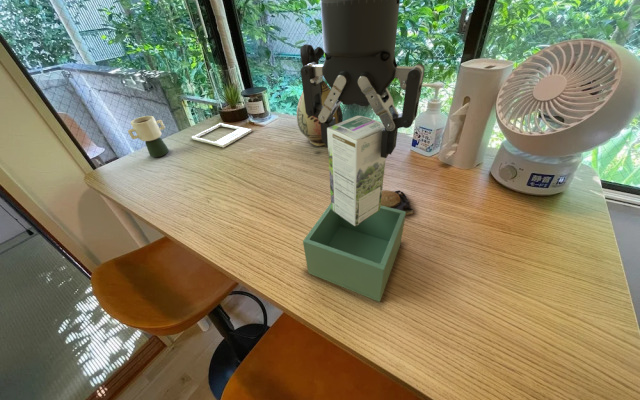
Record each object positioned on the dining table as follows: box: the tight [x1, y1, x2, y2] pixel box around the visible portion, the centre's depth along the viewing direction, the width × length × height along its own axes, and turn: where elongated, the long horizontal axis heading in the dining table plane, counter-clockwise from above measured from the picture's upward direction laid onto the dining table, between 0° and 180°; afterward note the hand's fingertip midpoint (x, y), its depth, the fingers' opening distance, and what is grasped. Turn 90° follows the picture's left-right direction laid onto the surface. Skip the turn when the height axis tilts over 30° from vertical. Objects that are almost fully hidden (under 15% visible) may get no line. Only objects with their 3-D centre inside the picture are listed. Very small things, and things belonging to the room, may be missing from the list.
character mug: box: [127, 115, 170, 158], centre depth 88 cm, size 11×7×13 cm, turn 137°
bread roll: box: [381, 189, 414, 216], centre depth 59 cm, size 11×8×4 cm
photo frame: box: [191, 122, 252, 148], centre depth 100 cm, size 15×1×18 cm
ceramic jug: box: [296, 43, 344, 147], centre depth 80 cm, size 17×15×30 cm
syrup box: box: [327, 115, 387, 226], centre depth 37 cm, size 6×6×14 cm
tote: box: [302, 202, 407, 303], centre depth 46 cm, size 14×14×9 cm
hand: (357, 150), depth 34 cm, fingers closed on syrup box, 7 cm apart
